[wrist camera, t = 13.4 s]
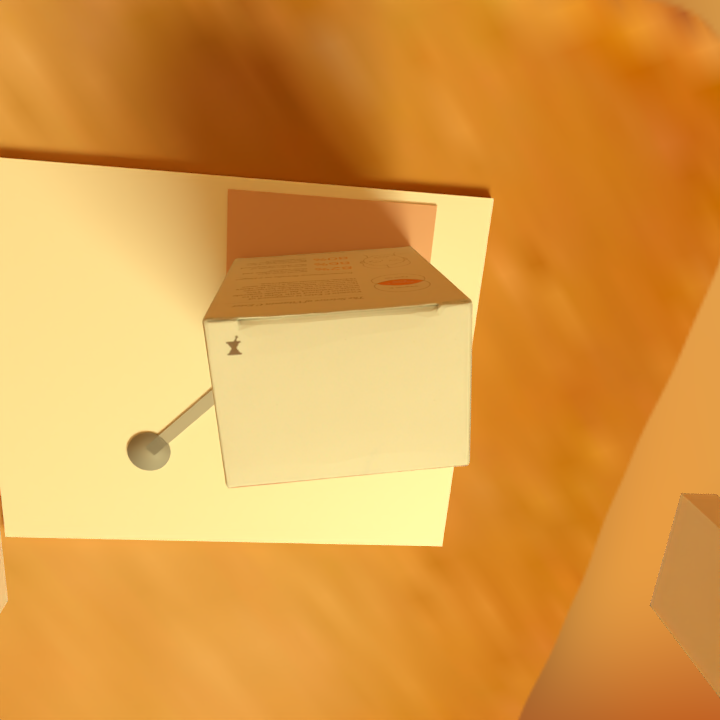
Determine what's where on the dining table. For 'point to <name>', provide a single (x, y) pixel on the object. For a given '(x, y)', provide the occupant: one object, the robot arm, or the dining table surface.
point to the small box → (339, 366)
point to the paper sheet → (180, 350)
